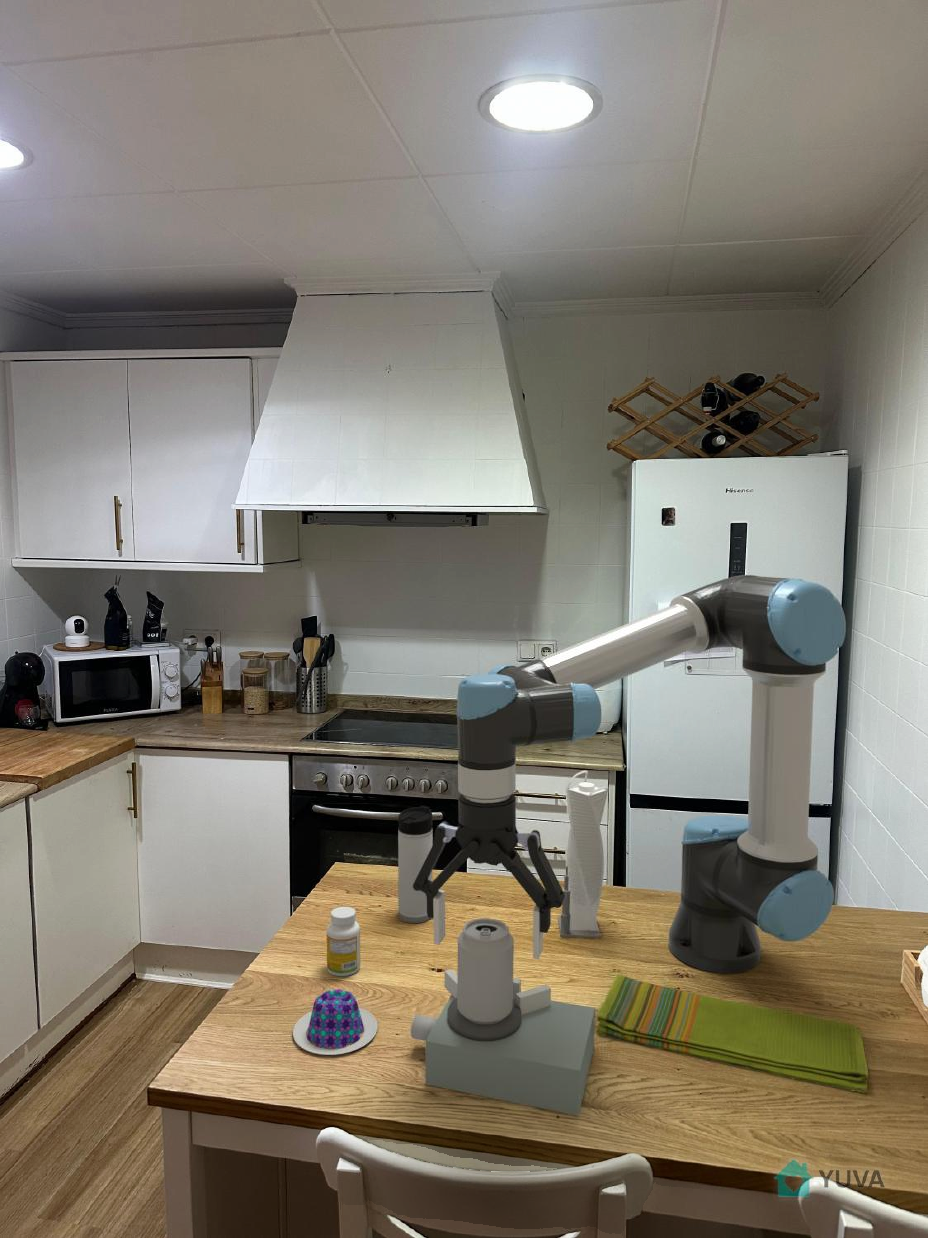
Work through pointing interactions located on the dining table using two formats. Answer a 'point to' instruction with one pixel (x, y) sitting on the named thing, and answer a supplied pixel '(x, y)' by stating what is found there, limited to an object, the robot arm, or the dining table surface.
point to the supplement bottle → (343, 942)
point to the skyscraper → (583, 861)
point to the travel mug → (413, 861)
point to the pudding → (335, 1024)
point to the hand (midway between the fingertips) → (488, 947)
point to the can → (485, 971)
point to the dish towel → (735, 1033)
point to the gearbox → (512, 1050)
